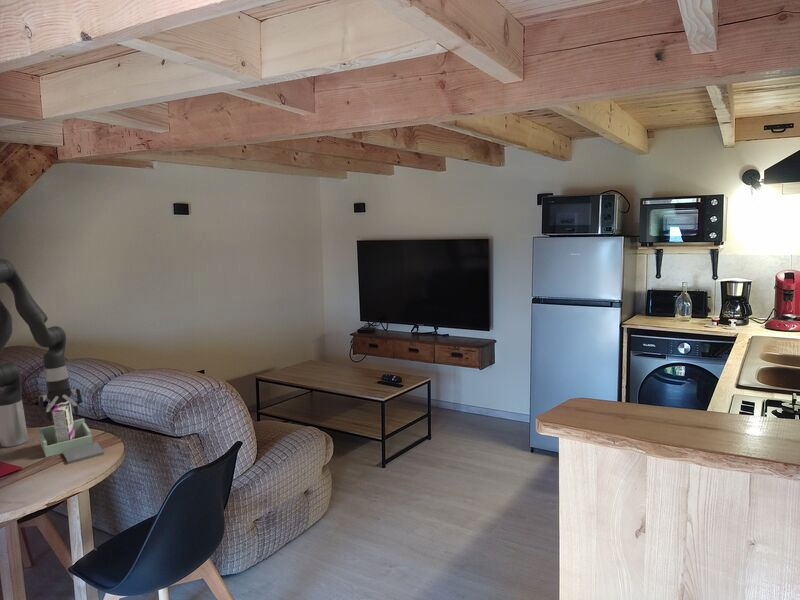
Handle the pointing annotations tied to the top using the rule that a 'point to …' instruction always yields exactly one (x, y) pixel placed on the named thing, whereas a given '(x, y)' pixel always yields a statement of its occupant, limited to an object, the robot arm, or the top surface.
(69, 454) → the slate tile
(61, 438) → the candy bar box
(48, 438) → the frame
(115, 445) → the top surface
